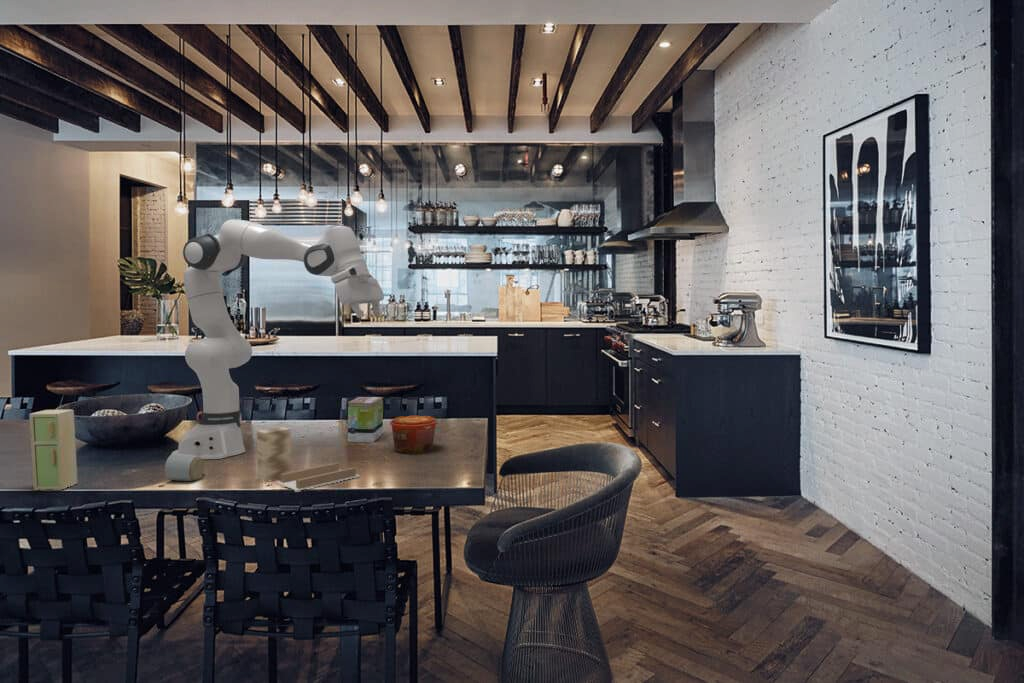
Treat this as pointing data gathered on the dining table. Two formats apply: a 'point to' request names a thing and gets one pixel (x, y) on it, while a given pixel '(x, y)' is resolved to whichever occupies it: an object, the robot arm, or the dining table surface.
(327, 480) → the track
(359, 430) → the tea box
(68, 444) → the toy refrigerator
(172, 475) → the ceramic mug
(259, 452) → the wooden block
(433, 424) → the food container
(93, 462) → the dining table surface
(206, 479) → the dining table surface
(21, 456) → the dining table surface
